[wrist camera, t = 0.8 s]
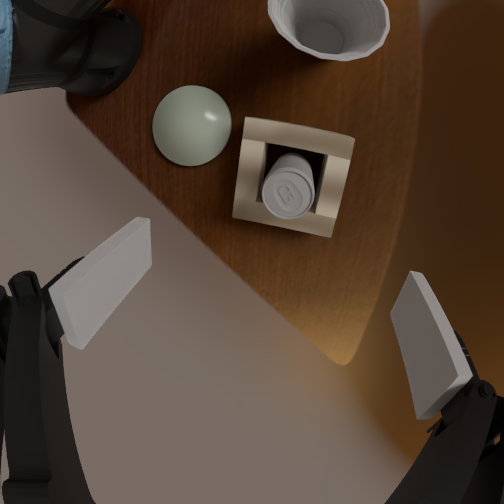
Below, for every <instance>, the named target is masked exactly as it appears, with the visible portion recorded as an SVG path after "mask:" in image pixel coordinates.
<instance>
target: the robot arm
mask: <svg viewBox="0 0 504 504" xmlns="http://www.w3.org/2000/svg"><path fill="white" fill-rule="evenodd" d="M110 1H111V0H0V95H2V94H5V93H11V92H17V91H23V90H31V89H39V88H49V87H59V88H62V89H64V90H66V91H69V92H71V93H73V94H75V95H78V96H83V97H92V96H101V95H104V94H106V93H108V92H110V91H112V90H113V89H115V88H116V87H117V86H119V85H120V84H121V83H122V82H123V81H124V80H125V79H126V77H127V76H128V75H129V73H130V72H131V70H132V69H133V67H134V65H135V63H136V61H137V59H138V56H139V53H140V50H141V45H142V30H141V26H140V24H139V22H138V20H137V19H136V17H135V16H134V15H132V14H131V13H129V12H127V11H124V10H122V9H119V8H104V7H105V6H106V5H107V4H108V3H109V2H110ZM150 238H151V237H150V219H147V218H142V217H136V218H135V219H133V220H132V221H131V222H129V223H128V224H127V225H125V226H124V227H123V228H121V229H120V230H119V231H117V232H116V233H115V234H113V235H112V236H111V237H109V238H108V239H107V240H106V241H104V242H103V243H102V244H101V245H99V246H98V247H97V248H96V249H94V250H93V251H92V252H91V253H89V254H88V255H87V256H86V257H81V258H79V259H77V260H75V261H73V262H72V263H71V264H69V265H68V266H67V267H66V269H63V270H62V271H61V272H60V274H58V275H56V276H55V277H54V278H53V279H52V280H51V281H50V282H48V283H47V284H46V285H45V286H44V287H43V288H42V289H41V288H40V285H39V282H38V278H37V275H36V274H35V272H33V271H23V272H19V273H17V274H16V275H14V276H13V277H12V278H11V279H10V280H9V282H8V285H9V288H10V291H11V293H12V296H13V297H11V296H8V295H7V293H6V290H5V288H4V287H3V286H1V285H0V472H1V456H2V444H3V436H4V429H5V442H6V452H7V459H8V467H9V479H7V480H6V481H4V482H3V485H2V495H3V500H4V504H96V503H95V502H94V500H93V499H92V497H91V495H90V492H89V489H88V486H87V483H86V480H85V476H84V473H83V470H82V467H81V463H80V459H79V455H78V451H77V447H76V443H75V439H74V434H73V430H72V425H71V419H70V414H69V408H68V401H67V394H66V387H65V378H64V368H63V354H62V344H61V340H60V338H61V336H62V335H63V334H65V336H66V338H67V341H68V343H69V344H71V345H73V346H75V347H77V348H79V349H81V350H83V349H84V347H85V346H86V345H87V343H88V342H89V341H90V339H91V338H92V337H93V336H94V334H95V333H96V332H97V331H98V329H99V328H100V327H101V325H102V324H103V323H104V322H105V320H106V319H107V318H108V317H109V316H110V314H111V313H112V312H113V311H114V309H115V308H116V307H117V306H118V305H119V303H120V302H121V301H122V300H123V299H124V297H125V296H126V295H127V294H128V293H129V292H130V290H131V289H132V288H133V287H134V286H135V284H136V283H137V282H138V281H139V280H140V279H141V277H142V276H143V275H144V274H145V273H146V272H147V271H148V270H149V268H150V267H151V266H152V259H151V239H150ZM390 316H391V319H392V322H393V325H394V328H395V332H396V335H397V338H398V342H399V345H400V349H401V353H402V356H403V360H404V363H405V368H406V372H407V376H408V380H409V383H410V388H411V392H412V397H413V402H414V407H415V412H416V417H417V420H423V419H432V418H433V417H434V416H435V415H436V414H437V413H438V412H439V411H441V414H442V418H441V419H439V420H438V421H437V422H436V423H435V424H434V425H433V426H432V427H431V428H429V429H428V431H427V433H429V432H430V431H431V430H433V431H432V433H431V435H430V437H429V439H428V440H427V442H426V444H425V446H424V447H423V449H422V450H421V452H420V454H419V455H418V457H417V459H416V460H415V462H414V463H413V465H412V466H411V468H410V469H409V471H408V473H407V474H406V476H405V477H404V478H403V480H402V481H401V483H400V484H399V485H398V487H397V488H396V489H395V491H394V492H393V493H392V495H391V496H390V497H389V499H388V500H387V501H386V503H385V504H504V397H500V396H498V395H496V391H495V389H494V388H493V386H492V385H491V384H490V383H489V382H487V381H485V380H480V379H479V376H478V374H477V371H476V369H475V366H474V364H473V362H472V360H471V357H470V356H469V353H468V351H467V349H466V346H465V344H464V342H463V340H462V338H461V337H460V336H459V335H458V333H457V332H456V331H453V329H452V327H451V326H450V323H449V321H448V319H447V317H446V315H445V314H444V311H443V310H442V308H441V306H440V304H439V302H438V300H437V298H436V297H435V295H434V293H433V291H432V290H431V288H430V286H429V284H428V283H427V281H426V279H425V277H424V276H423V274H422V273H418V272H414V271H410V272H409V274H408V277H407V279H406V281H405V283H404V285H403V288H402V290H401V292H400V294H399V296H398V298H397V300H396V302H395V304H394V306H393V308H392V310H391V312H390ZM498 436H500V441H499V442H498V443H497V444H496V445H494V440H495V439H496V438H497V437H498Z"/></svg>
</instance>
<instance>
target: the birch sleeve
mask: <svg viewBox="0 0 504 504" xmlns="http://www.w3.org/2000/svg"><path fill="white" fill-rule="evenodd" d="M354 141H355V138H352V137H350V136H347V135H343V134H339V133H335V132H331V131H327V130H322V129H318V128H313V127H309V126H304V125H299V124H293V123H288V122H282V121H276V120H270V119H264V118H257V117H245V123H244V130H243V137H242V145H241V152H240V159H239V167H238V174H237V182H236V190H235V198H234V206H233V214H232V217H233V218H238V219H243V220H248V221H253V222H258V223H263V224H268V225H273V226H278V227H283V228H287V229H292V230H297V231H302V232H306V233H311V234H316V235H320V236H325V237H329V238H331V235H332V232H333V228H334V224H335V221H336V217H337V213H338V209H339V206H340V202H341V198H342V194H343V190H344V186H345V181H346V177H347V173H348V169H349V164H350V160H351V155H352V151H353V146H354ZM269 143H272V144H278V145H283V146H289V147H294V148H299V149H304V150H309V151H313V152H318V153H322V154H324V157H323V162H322V167H321V172H320V176H319V181H318V185H317V190H316V195H315V199H314V201H313V203H312V205H311V207H310V209H309V210H308V211H307V212H306V213H305V214H304V215H302V216H301V217H298V218H295V219H281V218H279V217H276V216H274V215H273V214H272V213H270V212H269V211H268V209H267V208H266V207H265V205H264V202H263V199H262V185H263V180H264V173H265V167H266V161H267V154H268V148H269Z"/></svg>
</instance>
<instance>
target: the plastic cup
mask: <svg viewBox="0 0 504 504" xmlns="http://www.w3.org/2000/svg"><path fill="white" fill-rule="evenodd" d="M268 14H269V16H270V18H271V20H272V21H273V23H274V25H275V27H276V29H277V31H278V33H280V34H281V35H282V36H283V37H284V38H286V39H287V40H288V41H289V42H290V43H291V44H293V45H294V46H295V47H296V48H297V49H300V50H302V51H304V52H305V53H306V54H307V55H309V56H312V57H314V58H316V59H326V60H327V59H331V60H339V61H349V60H353V59H357V58H362V57H367V56H368V55H370V54H371V53H372V52H374V51H375V50H376V49H378V48H379V47H380V46H382V45H383V43H384V41H385V38H386V36H387V34H388V32H389V29H390V23H389V13H388V8H387V7H386V5H385V3H384V1H383V0H268Z"/></svg>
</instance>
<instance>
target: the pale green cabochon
mask: <svg viewBox="0 0 504 504" xmlns="http://www.w3.org/2000/svg"><path fill="white" fill-rule="evenodd" d="M152 129H153V136H154V140H155V142H156V145H157V147H158V148H159V150H160V151H161V152H162V154H163V155H164V156H165V157H167V158H168V159H169V160H171V161H172V162H174V163H177V164H180V165H184V166H196V165H201V164H204V163H206V162H208V161H210V160H212V159H213V158H215V157H216V156H218V155H219V154H220V153H221V152H222V151H223V149H224V148H225V146H226V145H227V143H228V141H229V139H230V136H231V131H232V117H231V113H230V110H229V107H228V105H227V104H226V102H225V101H224V99H223V98H222V97H221V96H220V95H219V94H217V93H216V92H214V91H213V90H211V89H208V88H205V87H201V86H194V85H193V86H184V87H181V88H178V89H176V90H174V91H172V92H171V93H169V94H168V95H167V96H166V97H165V98H164V99H163V100H162V101H161V102H160V104H159V105H158V107H157V109H156V111H155V114H154V118H153V127H152Z"/></svg>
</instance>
